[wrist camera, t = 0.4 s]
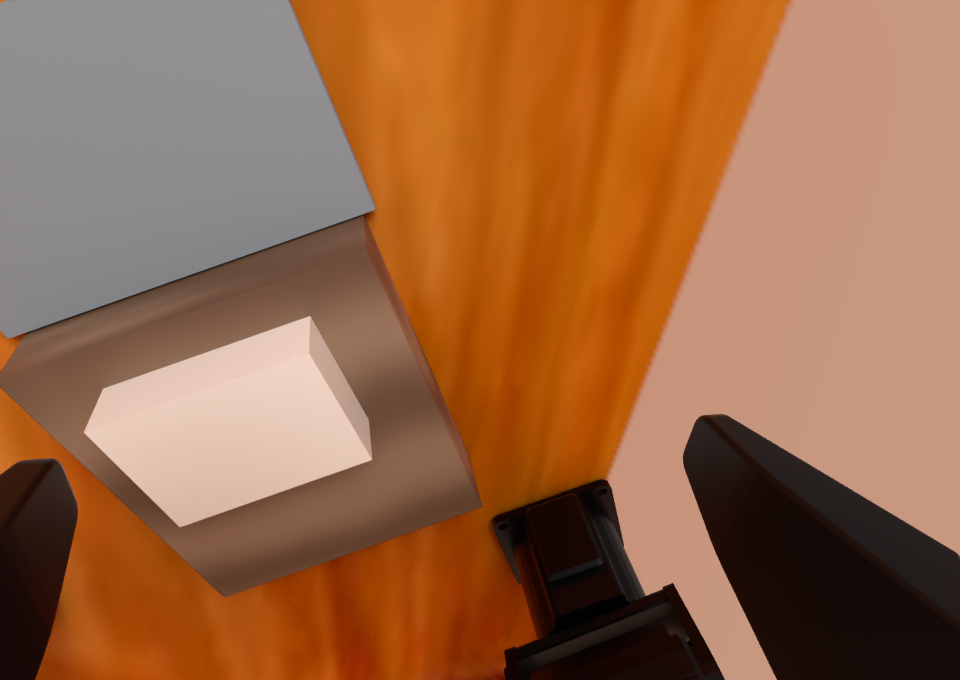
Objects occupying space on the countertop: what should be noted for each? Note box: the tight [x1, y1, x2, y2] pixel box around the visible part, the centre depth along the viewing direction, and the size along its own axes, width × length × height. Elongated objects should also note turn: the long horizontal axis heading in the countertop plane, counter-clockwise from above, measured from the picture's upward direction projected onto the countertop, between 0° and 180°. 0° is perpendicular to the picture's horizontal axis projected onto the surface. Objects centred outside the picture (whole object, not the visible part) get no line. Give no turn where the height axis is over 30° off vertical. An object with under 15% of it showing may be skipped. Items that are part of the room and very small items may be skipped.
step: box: [0, 214, 482, 597], centre depth 24 cm, size 14×12×3 cm
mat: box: [0, 0, 375, 339], centre depth 18 cm, size 8×13×1 cm, turn 105°
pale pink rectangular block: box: [84, 316, 372, 527], centre depth 20 cm, size 5×7×2 cm
